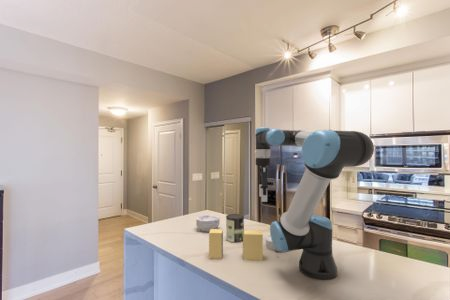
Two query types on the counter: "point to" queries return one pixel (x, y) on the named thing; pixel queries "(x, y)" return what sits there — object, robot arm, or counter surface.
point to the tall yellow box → (252, 245)
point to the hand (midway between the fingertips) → (263, 198)
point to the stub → (215, 243)
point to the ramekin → (270, 243)
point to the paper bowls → (207, 222)
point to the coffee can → (234, 228)
